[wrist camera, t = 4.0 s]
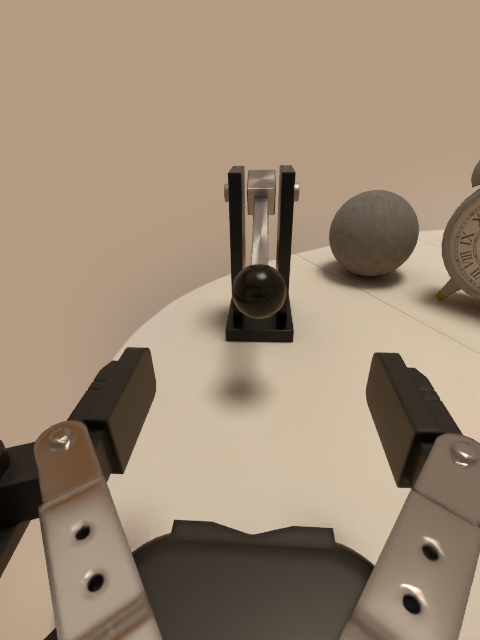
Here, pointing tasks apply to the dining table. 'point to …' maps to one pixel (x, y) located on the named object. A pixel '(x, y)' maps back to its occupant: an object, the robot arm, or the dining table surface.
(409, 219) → the decorative ball
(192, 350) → the dining table surface
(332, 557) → the robot arm
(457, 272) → the alarm clock
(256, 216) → the lever
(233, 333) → the bracket
